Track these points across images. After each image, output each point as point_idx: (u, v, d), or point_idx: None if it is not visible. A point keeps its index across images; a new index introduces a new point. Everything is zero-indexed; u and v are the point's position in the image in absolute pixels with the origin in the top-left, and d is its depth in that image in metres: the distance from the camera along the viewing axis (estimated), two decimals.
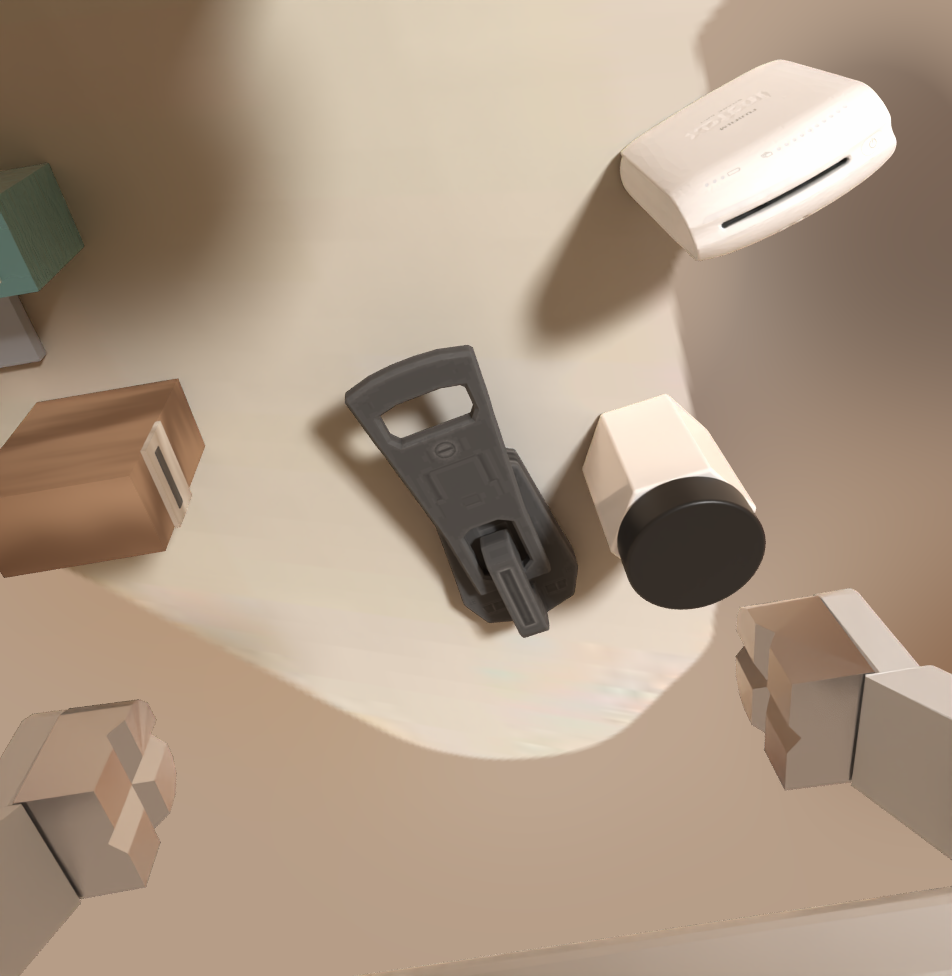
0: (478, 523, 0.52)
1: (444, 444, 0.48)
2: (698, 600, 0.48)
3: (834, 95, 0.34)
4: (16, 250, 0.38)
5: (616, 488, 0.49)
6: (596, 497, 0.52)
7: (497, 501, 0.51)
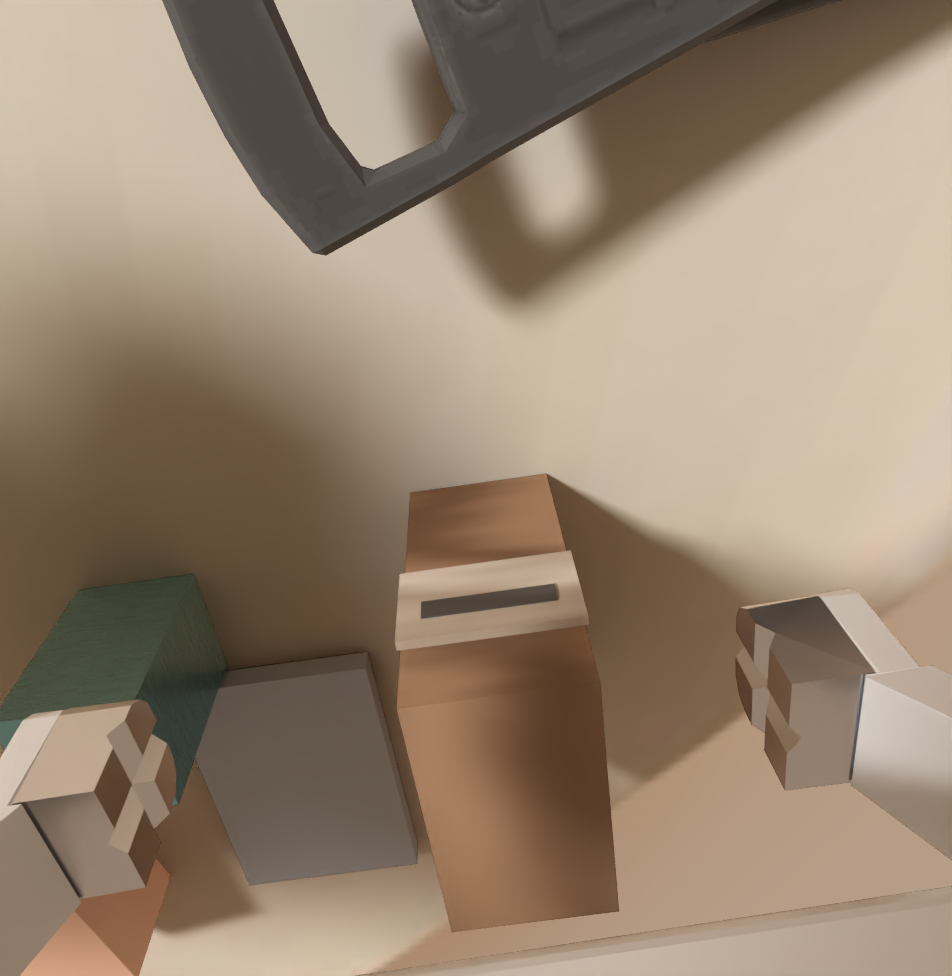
0: None
1: None
2: None
3: None
4: None
5: None
6: None
7: None
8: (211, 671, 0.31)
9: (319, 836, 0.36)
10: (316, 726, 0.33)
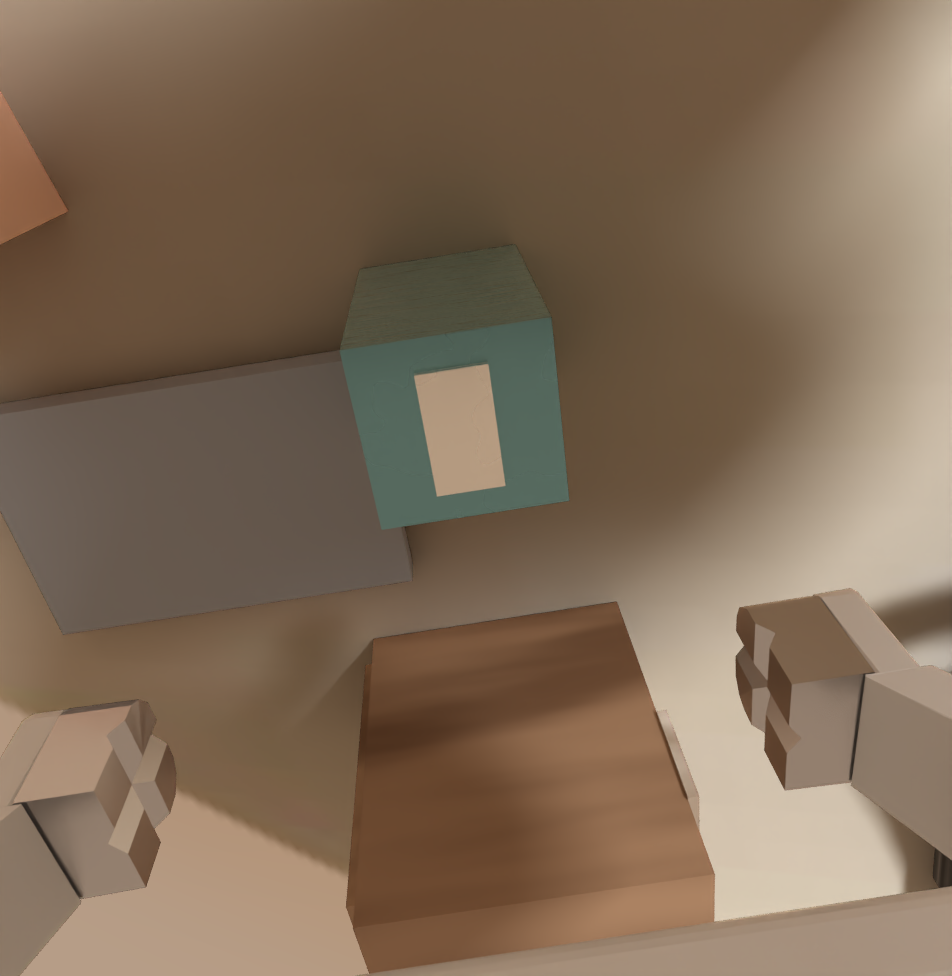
0: None
1: None
2: None
3: None
4: (556, 423, 0.18)
5: None
6: None
7: None
8: None
9: (97, 522, 0.25)
10: (315, 528, 0.26)
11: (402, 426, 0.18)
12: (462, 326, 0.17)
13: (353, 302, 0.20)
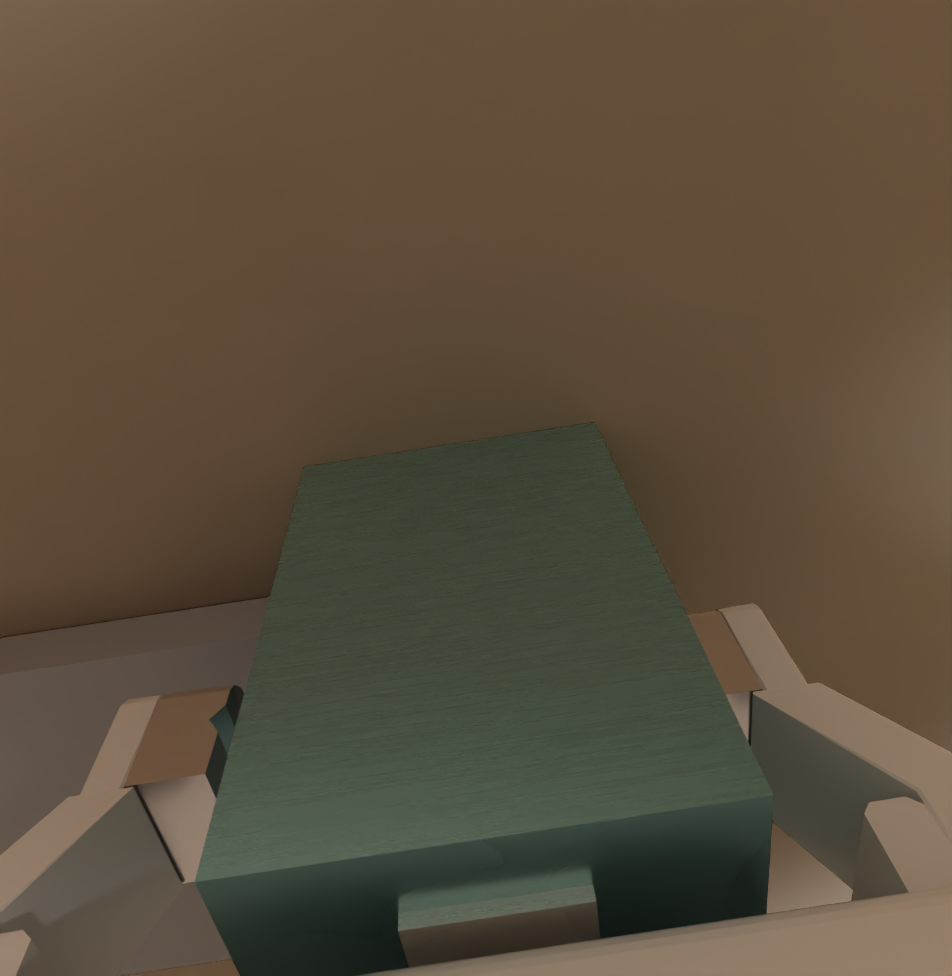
0: None
1: None
2: None
3: None
4: None
5: None
6: None
7: None
8: None
9: None
10: None
11: None
12: (528, 795, 0.06)
13: (273, 601, 0.09)
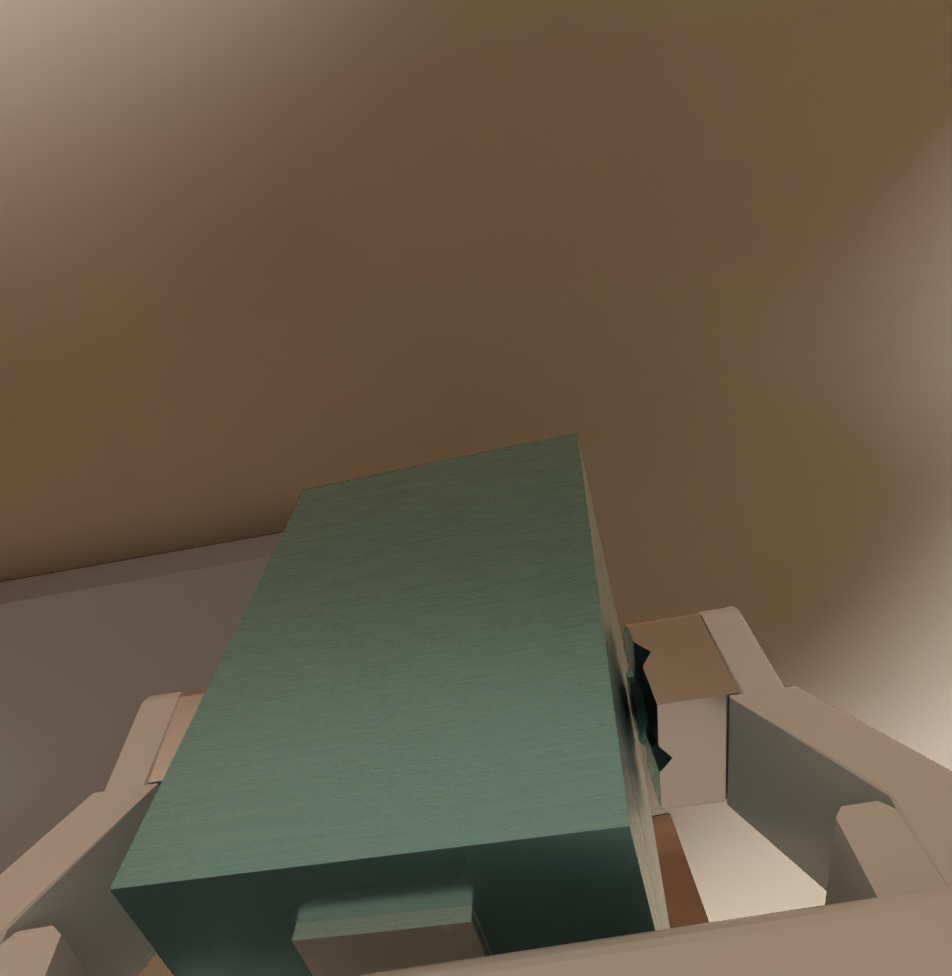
0: None
1: None
2: None
3: None
4: None
5: None
6: None
7: None
8: None
9: None
10: None
11: None
12: (405, 818, 0.07)
13: (241, 625, 0.10)
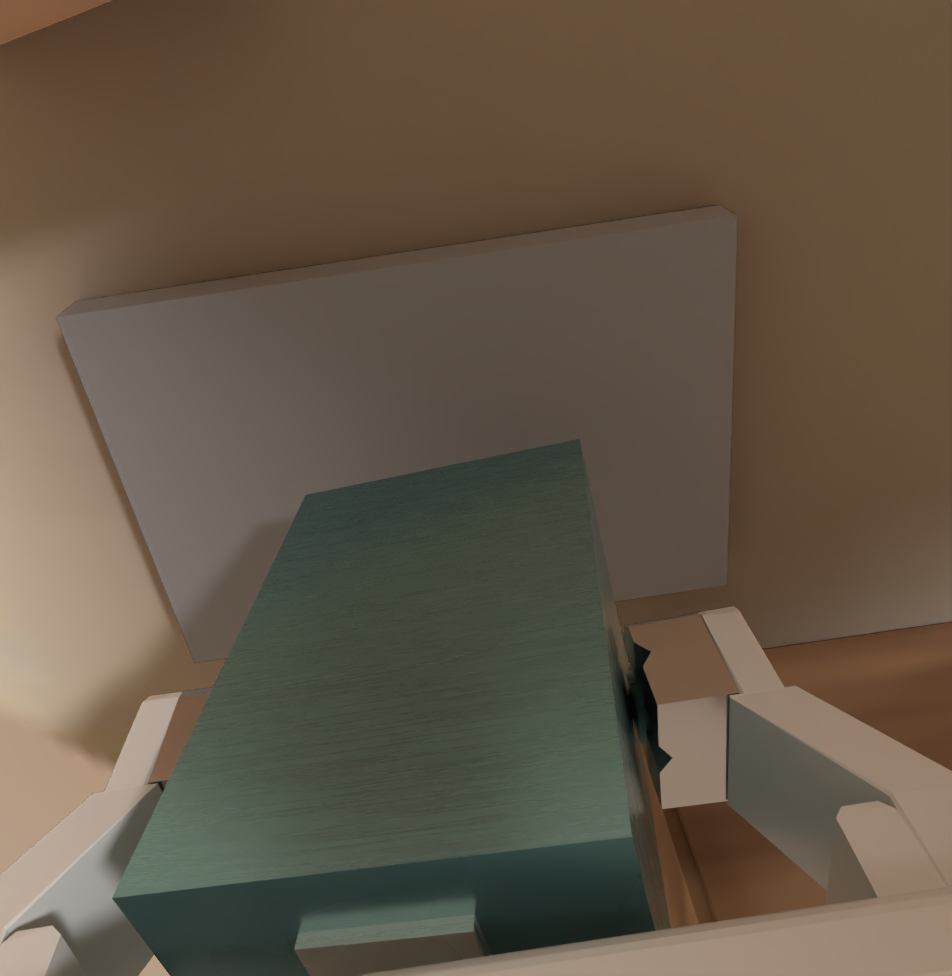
0: None
1: None
2: None
3: None
4: None
5: None
6: None
7: None
8: None
9: (267, 490, 0.16)
10: (599, 502, 0.17)
11: None
12: (407, 827, 0.07)
13: (243, 631, 0.10)
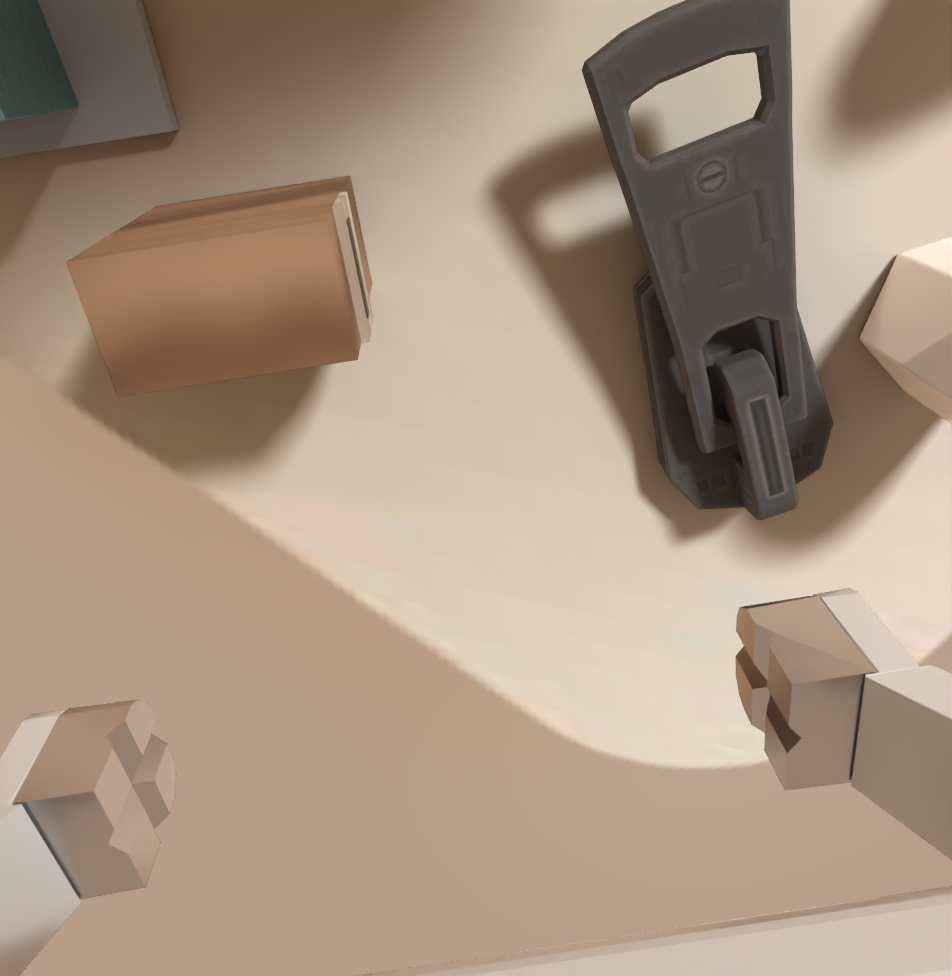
0: (729, 321, 0.37)
1: (712, 165, 0.32)
2: None
3: None
4: None
5: None
6: (907, 354, 0.38)
7: (764, 282, 0.36)
8: None
9: None
10: (89, 72, 0.33)
11: None
12: None
13: None
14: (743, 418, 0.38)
